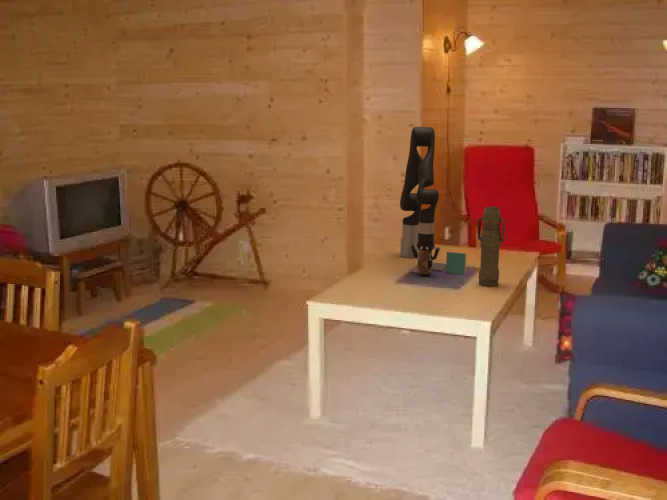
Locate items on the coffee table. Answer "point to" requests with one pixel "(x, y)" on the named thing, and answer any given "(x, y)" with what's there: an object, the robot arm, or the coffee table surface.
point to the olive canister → (490, 246)
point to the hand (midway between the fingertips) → (424, 267)
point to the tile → (456, 262)
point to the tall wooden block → (423, 262)
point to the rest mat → (438, 266)
